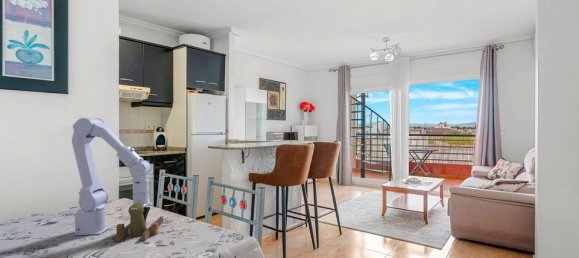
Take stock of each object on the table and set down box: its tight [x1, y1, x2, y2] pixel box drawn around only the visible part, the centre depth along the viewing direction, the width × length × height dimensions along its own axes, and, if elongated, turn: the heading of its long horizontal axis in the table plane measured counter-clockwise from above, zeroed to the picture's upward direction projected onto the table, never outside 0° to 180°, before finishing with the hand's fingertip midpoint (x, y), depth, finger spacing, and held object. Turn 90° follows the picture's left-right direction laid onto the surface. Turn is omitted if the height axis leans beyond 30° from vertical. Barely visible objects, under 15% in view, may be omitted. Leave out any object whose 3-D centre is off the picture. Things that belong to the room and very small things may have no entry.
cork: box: [128, 204, 148, 238], centre depth 118 cm, size 6×6×11 cm
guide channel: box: [114, 215, 164, 243], centre depth 122 cm, size 14×21×4 cm
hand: (141, 226), depth 122 cm, fingers closed, pressing on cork
